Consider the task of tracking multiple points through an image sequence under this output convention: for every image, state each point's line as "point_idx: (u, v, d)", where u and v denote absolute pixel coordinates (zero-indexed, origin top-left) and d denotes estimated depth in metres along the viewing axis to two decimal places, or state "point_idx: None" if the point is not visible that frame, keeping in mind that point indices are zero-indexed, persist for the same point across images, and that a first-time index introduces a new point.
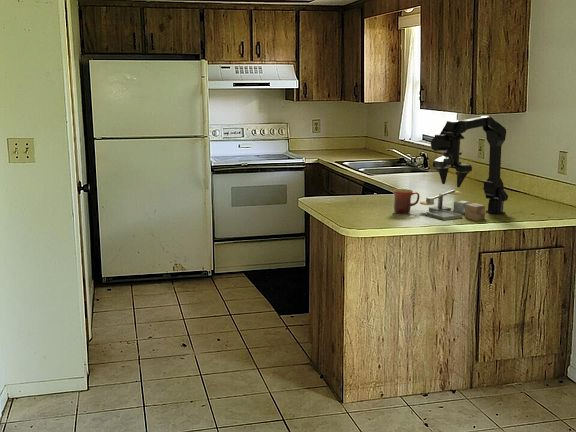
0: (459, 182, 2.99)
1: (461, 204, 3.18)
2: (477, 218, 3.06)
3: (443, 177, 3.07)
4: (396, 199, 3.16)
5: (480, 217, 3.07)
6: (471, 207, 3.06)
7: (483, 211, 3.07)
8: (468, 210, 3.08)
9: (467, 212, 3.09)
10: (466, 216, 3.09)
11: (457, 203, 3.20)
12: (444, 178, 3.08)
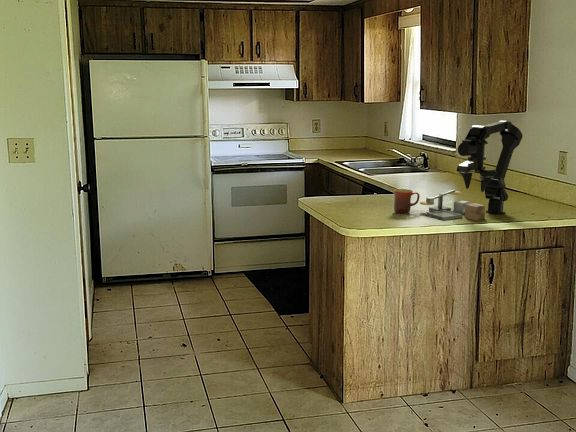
0: (483, 187, 3.03)
1: (461, 204, 3.18)
2: (477, 218, 3.06)
3: (467, 182, 3.12)
4: (396, 199, 3.16)
5: (480, 217, 3.07)
6: (471, 207, 3.06)
7: (483, 211, 3.07)
8: (468, 210, 3.08)
9: (467, 212, 3.09)
10: (466, 216, 3.09)
11: (457, 203, 3.20)
12: (468, 183, 3.12)
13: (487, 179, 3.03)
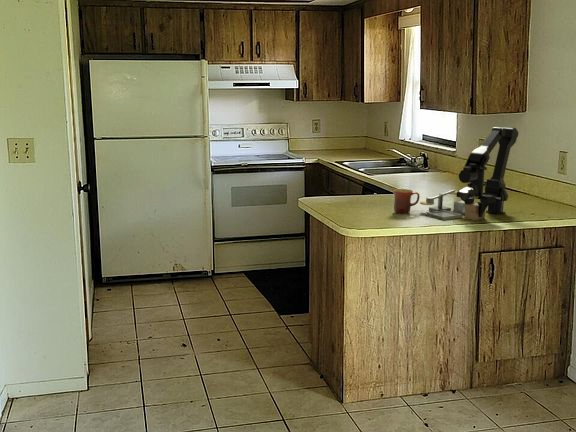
0: (481, 212, 3.05)
1: (461, 204, 3.18)
2: (477, 218, 3.06)
3: None
4: (396, 199, 3.16)
5: (480, 217, 3.07)
6: (471, 207, 3.06)
7: None
8: (468, 209, 3.08)
9: (467, 212, 3.09)
10: (466, 216, 3.09)
11: (457, 203, 3.20)
12: None
13: (485, 204, 3.05)
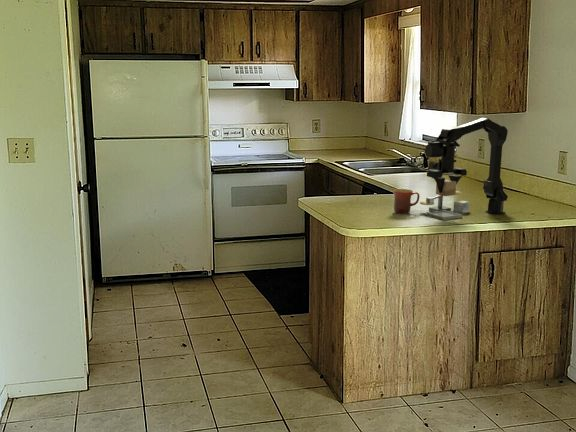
0: (438, 187, 3.07)
1: (461, 204, 3.18)
2: (438, 193, 3.09)
3: None
4: (396, 199, 3.16)
5: (441, 193, 3.07)
6: None
7: (444, 188, 3.05)
8: None
9: None
10: None
11: (457, 203, 3.20)
12: None
13: (440, 180, 3.05)
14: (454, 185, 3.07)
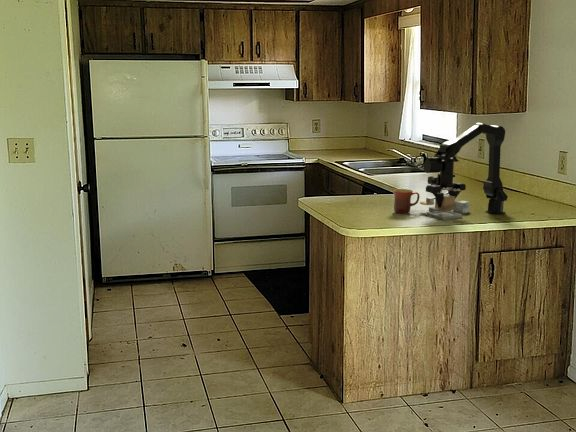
0: (437, 202, 3.09)
1: (461, 204, 3.18)
2: (437, 207, 3.10)
3: None
4: (396, 199, 3.16)
5: (440, 208, 3.09)
6: None
7: (443, 202, 3.07)
8: None
9: None
10: None
11: (457, 203, 3.20)
12: None
13: (439, 195, 3.06)
14: (453, 200, 3.08)
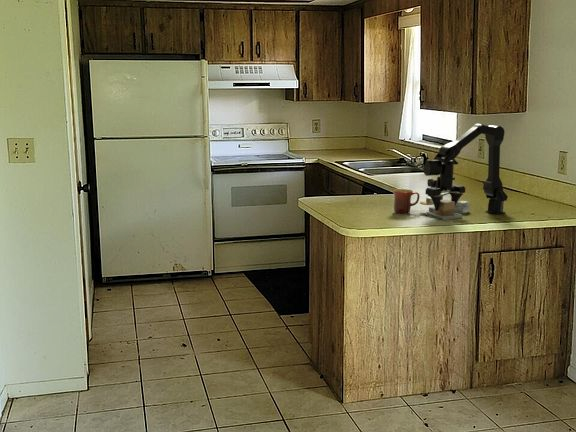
0: (434, 205, 3.08)
1: (461, 204, 3.18)
2: (437, 213, 3.11)
3: None
4: (396, 199, 3.16)
5: (440, 213, 3.09)
6: None
7: (442, 208, 3.07)
8: None
9: None
10: None
11: (457, 203, 3.20)
12: None
13: (436, 198, 3.06)
14: (453, 205, 3.09)
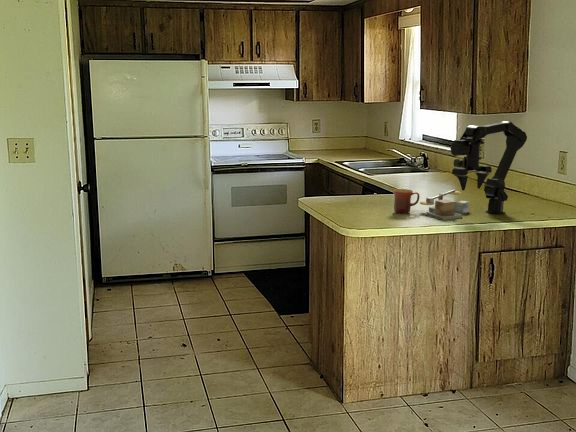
0: (461, 185, 3.09)
1: (461, 204, 3.18)
2: (437, 213, 3.11)
3: (478, 181, 3.14)
4: (396, 199, 3.16)
5: (440, 213, 3.09)
6: None
7: (442, 208, 3.07)
8: None
9: None
10: None
11: (457, 203, 3.20)
12: (479, 183, 3.14)
13: (463, 178, 3.07)
14: (453, 205, 3.09)
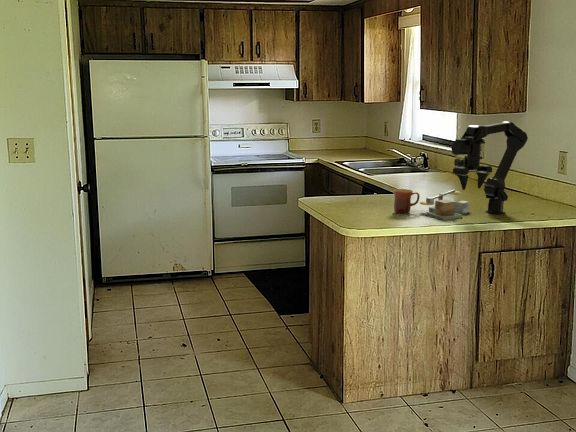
0: (462, 184, 3.09)
1: (461, 204, 3.18)
2: (437, 213, 3.11)
3: (479, 181, 3.14)
4: (396, 199, 3.16)
5: (440, 213, 3.09)
6: None
7: (442, 208, 3.07)
8: None
9: None
10: None
11: (457, 203, 3.20)
12: (479, 182, 3.13)
13: (463, 177, 3.07)
14: (453, 205, 3.09)
